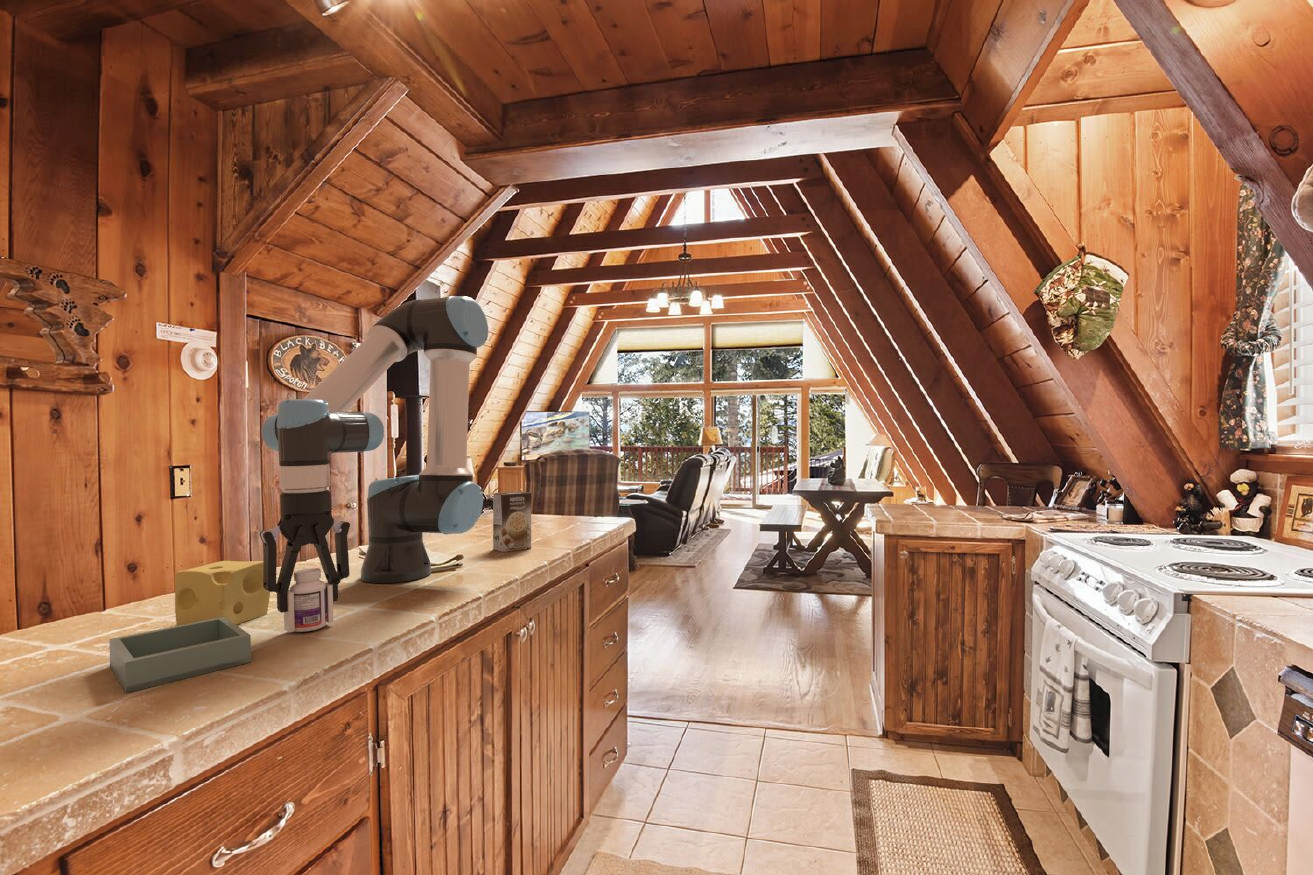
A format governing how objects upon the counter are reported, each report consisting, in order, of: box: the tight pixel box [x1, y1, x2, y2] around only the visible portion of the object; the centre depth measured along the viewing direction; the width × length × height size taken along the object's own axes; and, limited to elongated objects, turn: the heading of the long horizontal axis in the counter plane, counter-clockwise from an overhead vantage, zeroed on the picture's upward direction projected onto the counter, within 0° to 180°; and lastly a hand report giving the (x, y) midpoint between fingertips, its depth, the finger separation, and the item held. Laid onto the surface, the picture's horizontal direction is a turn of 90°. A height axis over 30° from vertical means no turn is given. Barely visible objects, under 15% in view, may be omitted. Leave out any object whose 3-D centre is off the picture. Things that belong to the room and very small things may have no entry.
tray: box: [108, 617, 252, 694], centre depth 90 cm, size 14×14×4 cm
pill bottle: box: [289, 567, 328, 633], centre depth 105 cm, size 5×5×10 cm
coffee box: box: [492, 491, 532, 553], centre depth 176 cm, size 9×6×16 cm
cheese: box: [174, 560, 271, 626], centre depth 111 cm, size 10×11×10 cm
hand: (309, 625), depth 105 cm, fingers closed on pill bottle, 5 cm apart
